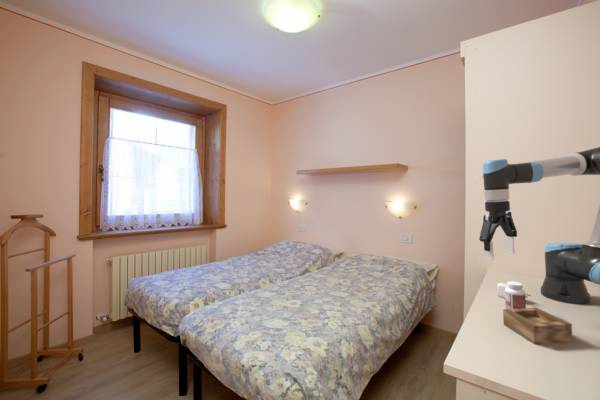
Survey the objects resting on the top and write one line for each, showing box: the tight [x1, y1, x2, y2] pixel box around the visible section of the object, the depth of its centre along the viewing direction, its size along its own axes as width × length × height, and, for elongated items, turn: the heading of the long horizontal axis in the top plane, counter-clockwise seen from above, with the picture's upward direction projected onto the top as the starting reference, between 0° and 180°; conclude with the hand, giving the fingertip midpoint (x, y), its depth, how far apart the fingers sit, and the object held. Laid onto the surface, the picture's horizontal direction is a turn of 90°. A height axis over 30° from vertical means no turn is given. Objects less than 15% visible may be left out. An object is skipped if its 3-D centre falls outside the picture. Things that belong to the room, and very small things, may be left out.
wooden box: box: [502, 307, 573, 345], centre depth 88 cm, size 12×12×6 cm
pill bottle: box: [504, 281, 527, 309], centre depth 103 cm, size 6×6×11 cm
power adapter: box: [496, 282, 532, 299], centre depth 113 cm, size 11×5×6 cm, turn 25°
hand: (499, 256), depth 101 cm, fingers open, 13 cm apart
